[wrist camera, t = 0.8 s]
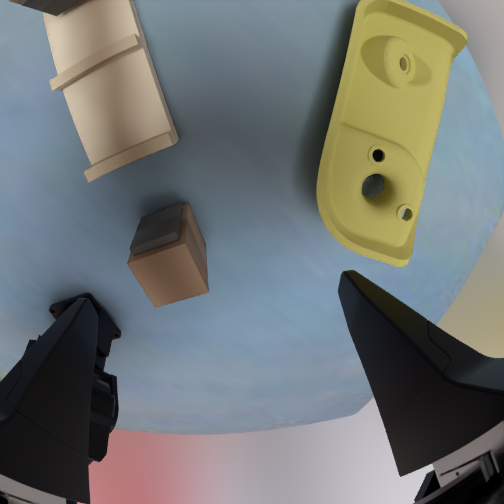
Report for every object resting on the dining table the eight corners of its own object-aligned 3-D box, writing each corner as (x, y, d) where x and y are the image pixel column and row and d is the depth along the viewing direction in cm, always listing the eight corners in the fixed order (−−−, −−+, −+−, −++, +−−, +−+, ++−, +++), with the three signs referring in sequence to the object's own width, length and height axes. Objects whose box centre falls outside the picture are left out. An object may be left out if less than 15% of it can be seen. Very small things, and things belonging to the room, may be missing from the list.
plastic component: (360, -15, 11) (482, 41, 9) (353, 21, 17) (448, 60, 16) (297, 233, 19) (419, 275, 18) (305, 208, 26) (399, 241, 25)
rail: (105, 169, 18) (60, 216, 11) (50, -7, 8) (-5, -29, 2) (178, 138, 18) (164, 169, 11) (120, -44, 8) (88, -90, 2)
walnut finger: (162, 258, 23) (155, 307, 18) (139, 213, 20) (122, 255, 15) (205, 244, 23) (208, 292, 18) (186, 196, 20) (181, 234, 15)
